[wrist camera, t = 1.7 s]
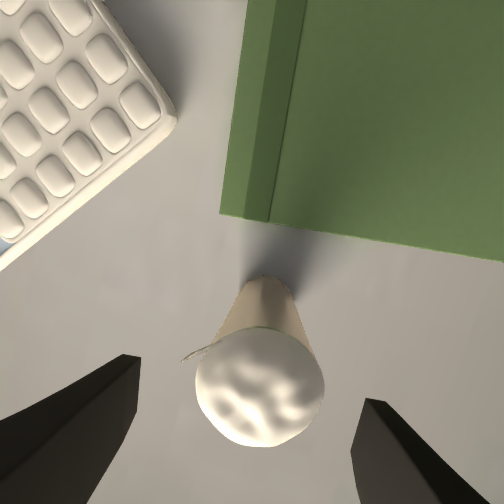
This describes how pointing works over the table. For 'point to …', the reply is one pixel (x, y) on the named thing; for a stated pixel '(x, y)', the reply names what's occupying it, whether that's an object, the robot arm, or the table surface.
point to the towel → (373, 121)
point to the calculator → (68, 113)
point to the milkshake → (260, 369)
